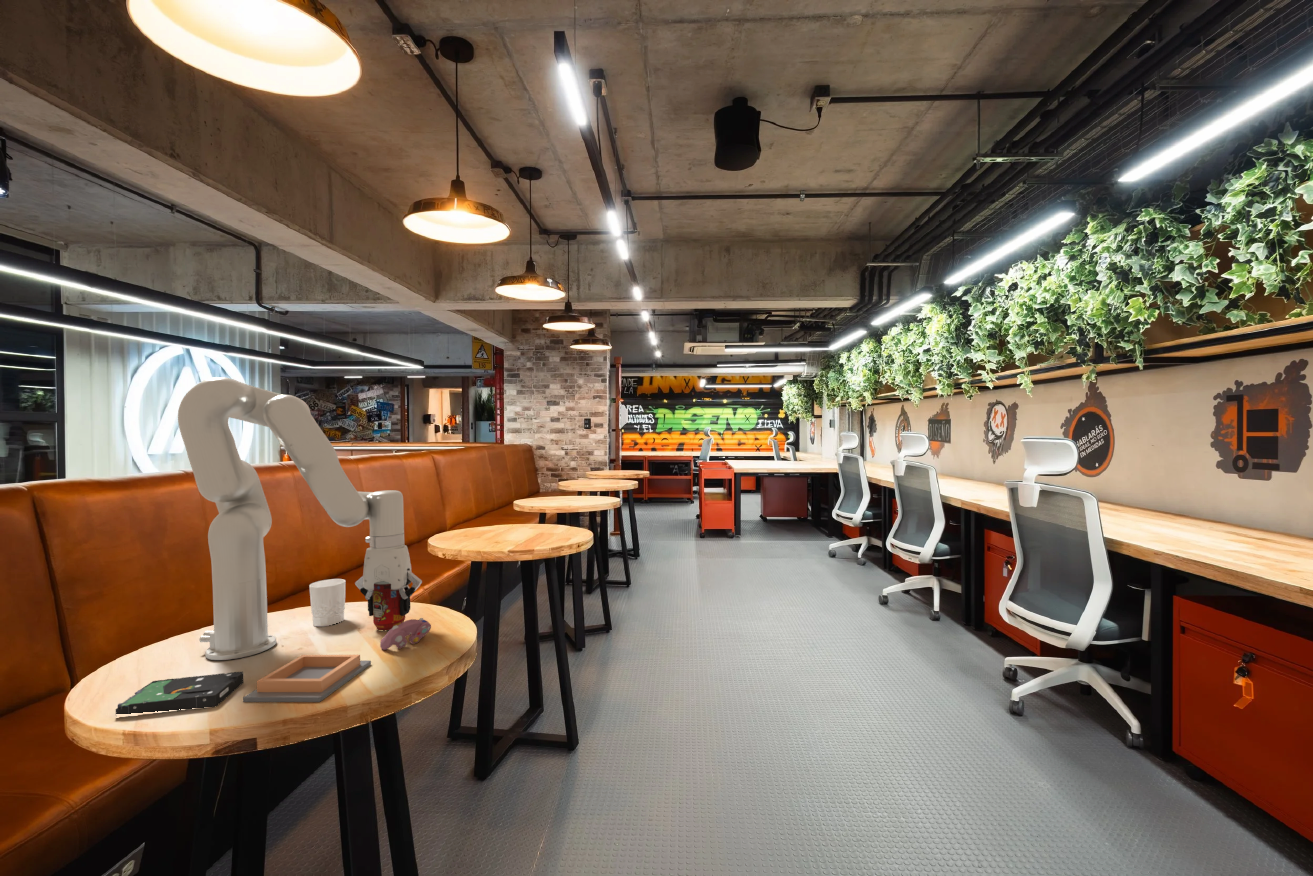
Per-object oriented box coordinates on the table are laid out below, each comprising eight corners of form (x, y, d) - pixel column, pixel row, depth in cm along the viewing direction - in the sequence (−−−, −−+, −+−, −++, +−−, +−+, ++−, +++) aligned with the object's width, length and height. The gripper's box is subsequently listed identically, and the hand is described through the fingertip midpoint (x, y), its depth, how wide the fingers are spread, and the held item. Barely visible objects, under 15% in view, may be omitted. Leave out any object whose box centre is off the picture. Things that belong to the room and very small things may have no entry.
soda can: (366, 631, 134) (365, 580, 134) (387, 621, 141) (386, 572, 141) (391, 633, 132) (390, 581, 132) (411, 623, 139) (410, 574, 139)
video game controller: (386, 660, 120) (393, 634, 118) (377, 646, 123) (383, 620, 121) (429, 645, 128) (436, 621, 126) (419, 633, 131) (426, 608, 129)
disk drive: (244, 685, 108) (152, 694, 104) (244, 670, 108) (152, 679, 104) (216, 710, 98) (113, 722, 94) (216, 694, 98) (113, 705, 94)
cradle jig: (243, 701, 99) (242, 686, 99) (304, 664, 115) (304, 651, 115) (319, 702, 98) (319, 686, 98) (370, 664, 114) (370, 650, 114)
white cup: (353, 618, 145) (352, 579, 145) (329, 628, 137) (328, 587, 137) (328, 616, 146) (326, 578, 146) (302, 626, 139) (301, 586, 139)
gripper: (343, 545, 133) (345, 619, 133) (414, 544, 132) (416, 619, 133) (361, 539, 141) (363, 609, 141) (429, 538, 140) (431, 609, 140)
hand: (389, 613), depth 137 cm, fingers closed on soda can, 7 cm apart
